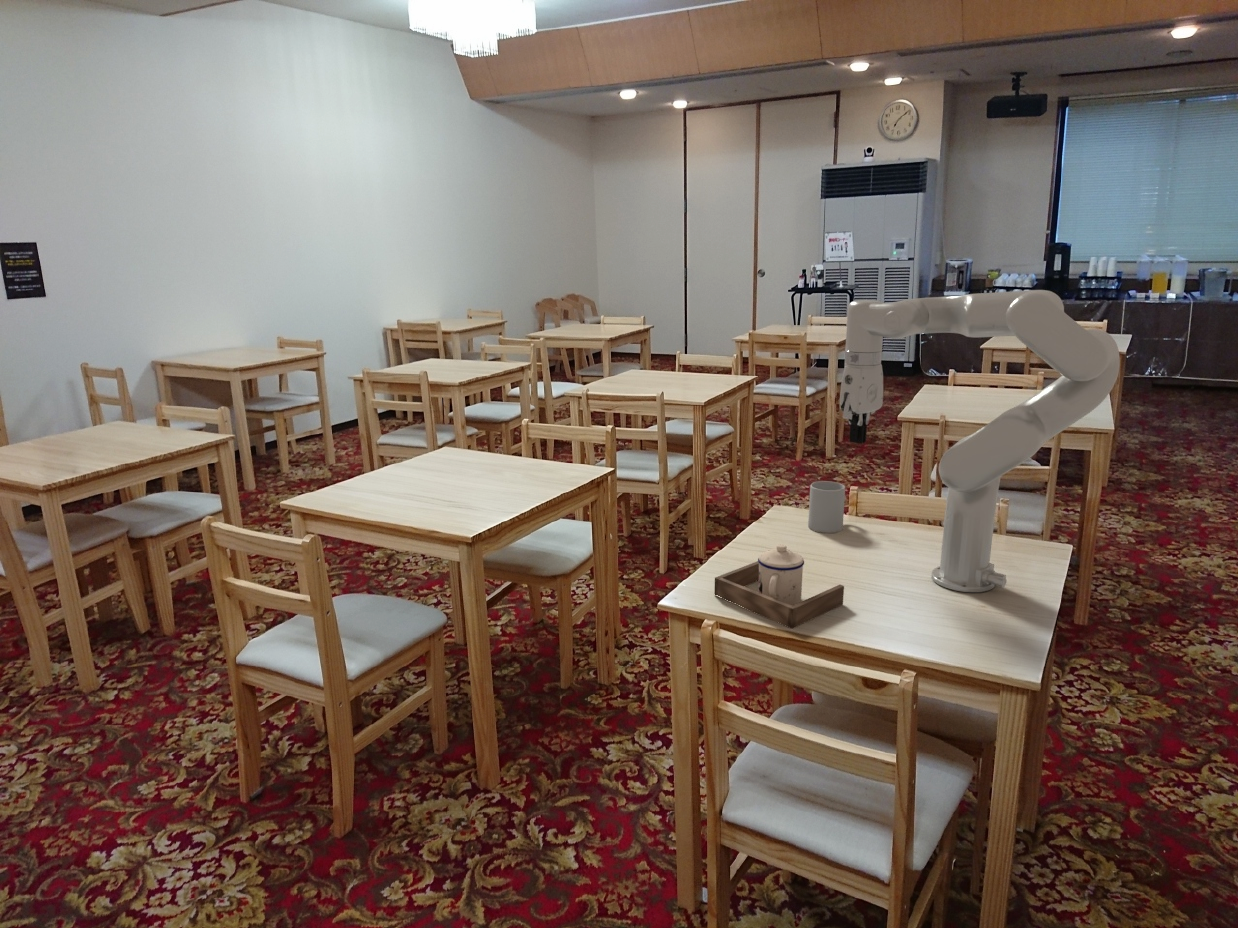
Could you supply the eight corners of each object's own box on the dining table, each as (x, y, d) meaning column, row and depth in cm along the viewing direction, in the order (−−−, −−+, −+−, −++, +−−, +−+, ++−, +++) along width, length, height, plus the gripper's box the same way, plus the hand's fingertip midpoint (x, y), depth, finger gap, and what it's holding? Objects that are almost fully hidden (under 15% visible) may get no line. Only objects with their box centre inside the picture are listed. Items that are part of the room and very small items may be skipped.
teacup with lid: (762, 587, 178) (764, 535, 175) (806, 594, 175) (809, 541, 172) (748, 610, 167) (749, 555, 164) (794, 618, 164) (796, 562, 161)
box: (842, 604, 170) (844, 585, 169) (792, 628, 160) (793, 609, 159) (765, 575, 184) (765, 557, 183) (714, 595, 174) (714, 577, 173)
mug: (831, 535, 208) (833, 493, 205) (801, 527, 213) (803, 486, 210) (856, 523, 216) (859, 482, 213) (826, 516, 222) (829, 476, 219)
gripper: (857, 364, 175) (851, 451, 179) (897, 357, 184) (891, 439, 189) (827, 360, 180) (822, 444, 185) (867, 353, 189) (862, 433, 194)
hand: (857, 441), depth 187 cm, fingers closed
